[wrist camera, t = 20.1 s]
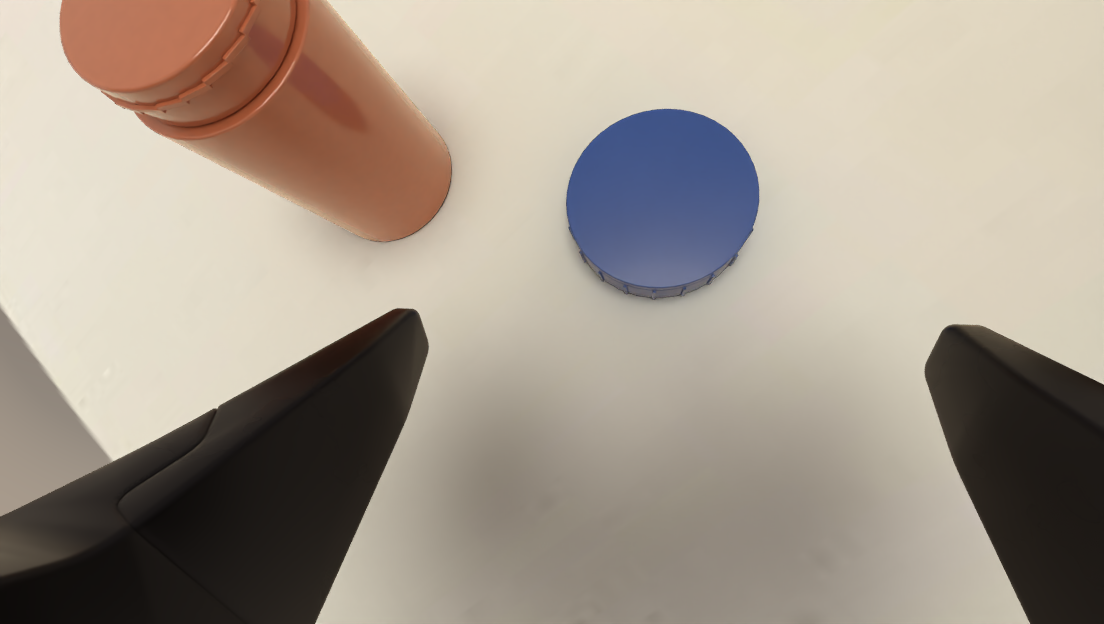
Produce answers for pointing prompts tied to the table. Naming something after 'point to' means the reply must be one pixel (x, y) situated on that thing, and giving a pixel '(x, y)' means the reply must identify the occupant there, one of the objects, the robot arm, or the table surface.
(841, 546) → the table surface
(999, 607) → the table surface
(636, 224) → the lid
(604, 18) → the table surface
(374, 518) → the table surface
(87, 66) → the jar
